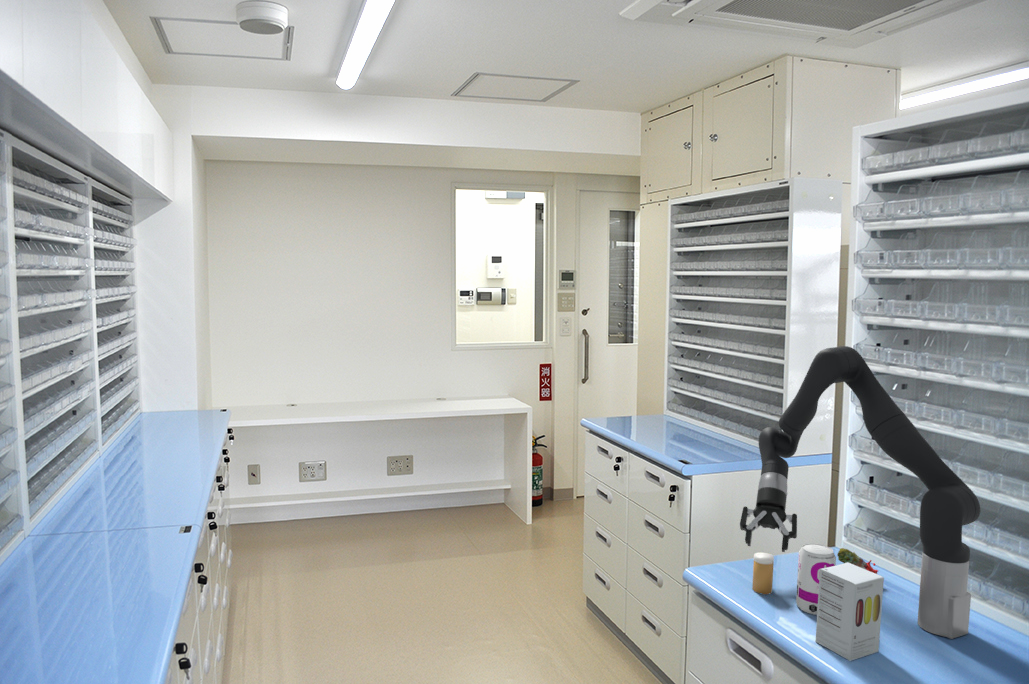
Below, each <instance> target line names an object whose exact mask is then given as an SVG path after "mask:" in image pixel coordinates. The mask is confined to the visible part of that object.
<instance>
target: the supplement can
mask: <svg viewBox="0 0 1029 684" xmlns="http://www.w3.org/2000/svg"><path fill="white" fill-rule="evenodd" d="M836 562H837V557H836V554H835V552H834V549H833V548H831V547H830V546H827V545H824V544H820V543H815V542H814V543H812V542H811V543H804V544H802V546H801V548H800V549H799V551H798V564H797V565H798V566H797V581H796V583H797V584H796V598H795V600H796V602H795V603H796V606H798V608H799V609H800V610H801V611H802V612H804V613H807V614H810V615H812V616H813V615H815V616H817V610H818V593H819V578H820V569H822V568H827V567H832V566H836V565H837V563H836Z"/></svg>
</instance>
